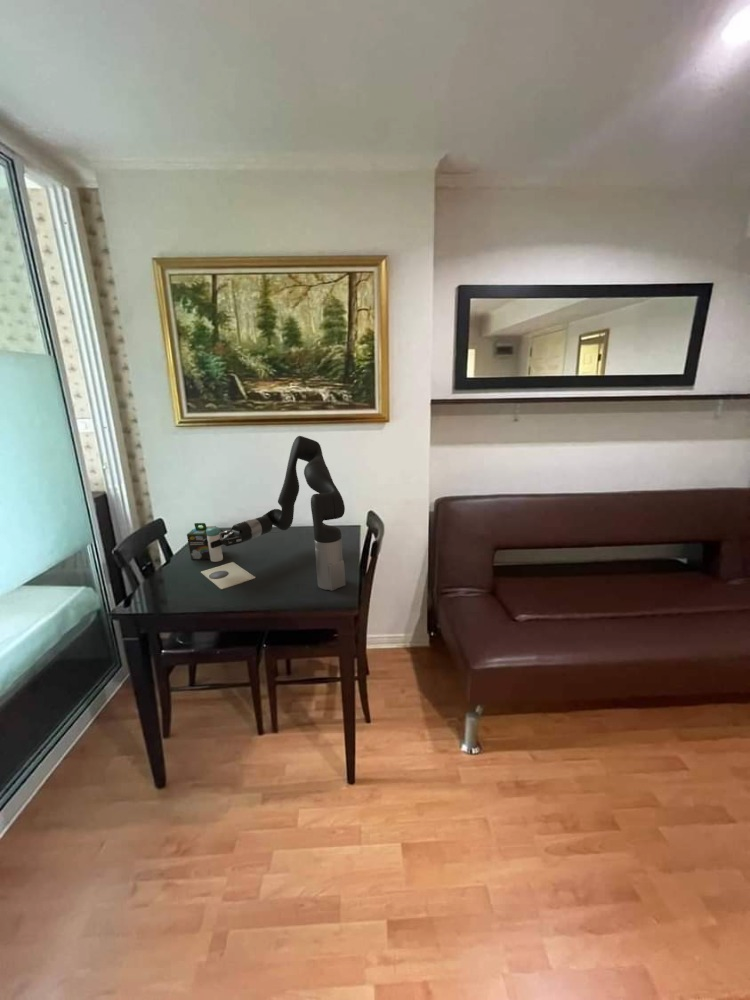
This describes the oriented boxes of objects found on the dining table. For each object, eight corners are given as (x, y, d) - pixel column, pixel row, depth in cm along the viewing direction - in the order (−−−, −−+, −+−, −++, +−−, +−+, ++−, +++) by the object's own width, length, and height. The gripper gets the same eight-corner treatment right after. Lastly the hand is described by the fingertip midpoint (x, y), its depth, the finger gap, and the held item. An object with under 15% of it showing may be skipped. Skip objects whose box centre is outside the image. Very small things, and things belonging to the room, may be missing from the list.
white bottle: (224, 559, 163) (220, 528, 160) (213, 562, 161) (208, 532, 157) (220, 555, 167) (215, 526, 163) (208, 559, 164) (204, 529, 161)
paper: (255, 578, 162) (255, 577, 162) (221, 589, 154) (221, 588, 154) (232, 562, 177) (232, 561, 176) (200, 572, 168) (200, 571, 168)
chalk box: (220, 551, 189) (216, 518, 185) (211, 559, 180) (206, 525, 176) (200, 551, 190) (195, 518, 186) (190, 559, 181) (184, 525, 177)
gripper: (235, 518, 176) (195, 530, 163) (257, 524, 167) (216, 538, 154) (237, 535, 178) (198, 549, 165) (259, 543, 169) (219, 558, 156)
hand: (207, 544), depth 160 cm, fingers closed on white bottle, 4 cm apart
